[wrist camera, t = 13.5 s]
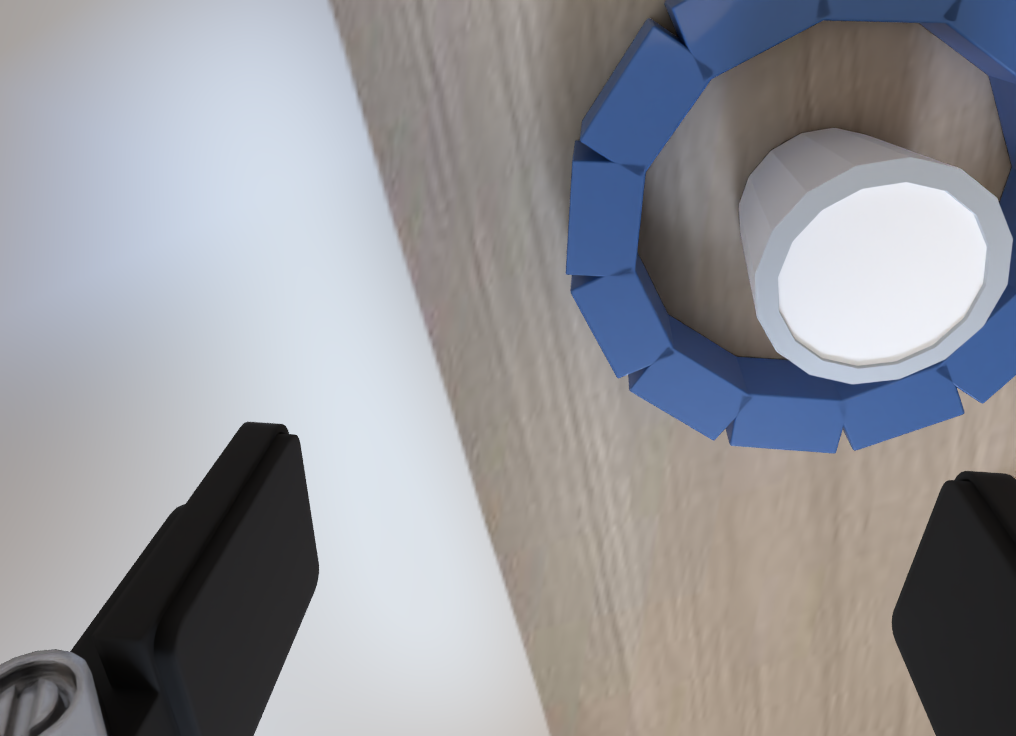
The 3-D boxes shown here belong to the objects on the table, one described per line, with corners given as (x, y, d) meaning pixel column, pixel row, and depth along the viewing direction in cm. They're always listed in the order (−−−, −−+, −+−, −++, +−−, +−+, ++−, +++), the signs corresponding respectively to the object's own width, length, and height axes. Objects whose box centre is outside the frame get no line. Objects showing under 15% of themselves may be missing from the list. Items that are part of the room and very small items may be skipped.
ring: (560, 394, 32) (556, 433, 30) (587, -77, 24) (586, -80, 21) (985, 424, 31) (1020, 468, 28) (1177, -68, 22) (1254, -70, 20)
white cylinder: (959, 211, 27) (1064, 288, 21) (793, 328, 30) (843, 425, 23) (847, 64, 25) (926, 100, 19) (682, 203, 28) (704, 274, 22)
